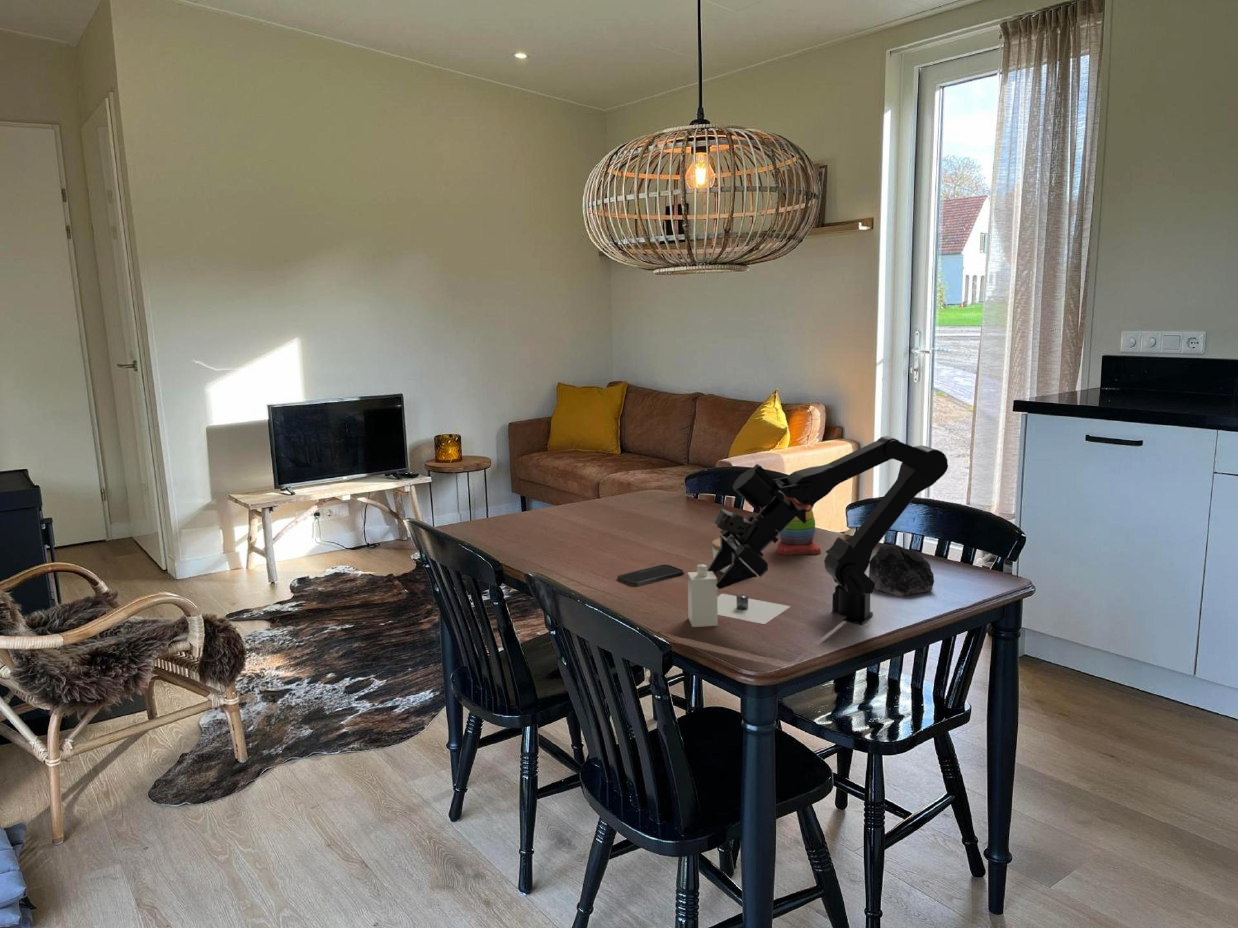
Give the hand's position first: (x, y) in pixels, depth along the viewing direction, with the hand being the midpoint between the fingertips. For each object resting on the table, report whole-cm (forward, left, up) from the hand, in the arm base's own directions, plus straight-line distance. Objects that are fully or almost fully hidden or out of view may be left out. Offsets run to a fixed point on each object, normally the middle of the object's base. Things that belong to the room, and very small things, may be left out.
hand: (713, 580), depth 169 cm
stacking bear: (+9, -59, -10) cm, 60 cm away
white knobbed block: (+2, +1, -9) cm, 10 cm away
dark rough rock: (-24, -42, -10) cm, 49 cm away
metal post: (-1, -10, -8) cm, 13 cm away
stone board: (-1, -10, -9) cm, 14 cm away
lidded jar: (+13, -33, -10) cm, 36 cm away
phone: (+29, -21, -10) cm, 37 cm away
